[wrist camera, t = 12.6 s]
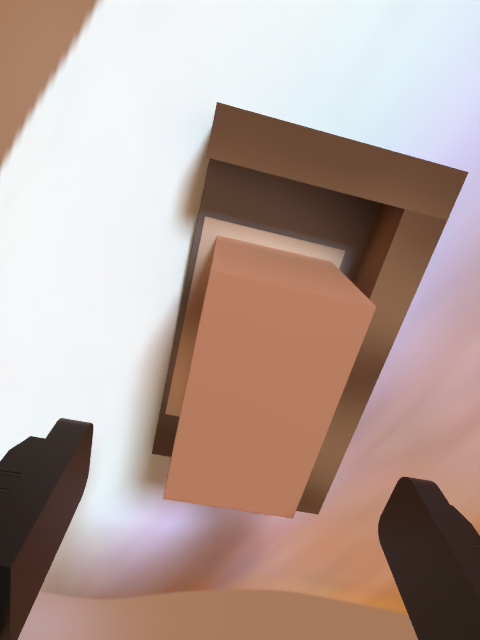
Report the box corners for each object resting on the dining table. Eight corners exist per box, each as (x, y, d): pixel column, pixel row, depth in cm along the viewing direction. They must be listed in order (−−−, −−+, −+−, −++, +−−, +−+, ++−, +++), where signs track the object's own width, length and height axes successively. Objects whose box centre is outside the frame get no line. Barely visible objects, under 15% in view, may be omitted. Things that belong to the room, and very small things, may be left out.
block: (331, 261, 15) (376, 306, 10) (276, 425, 18) (293, 518, 13) (217, 235, 14) (211, 270, 10) (181, 408, 17) (162, 498, 13)
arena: (308, 474, 20) (318, 514, 17) (153, 447, 19) (143, 486, 16) (431, 170, 14) (468, 172, 12) (219, 112, 13) (217, 102, 11)
